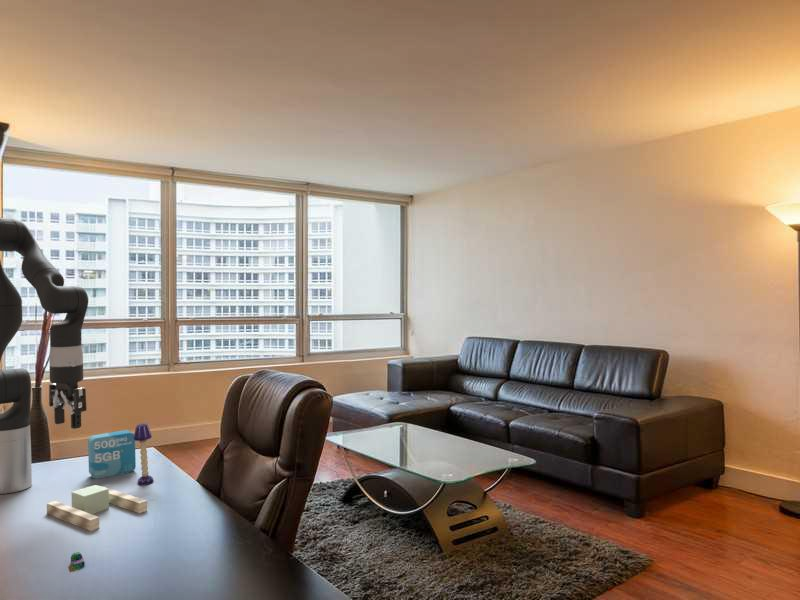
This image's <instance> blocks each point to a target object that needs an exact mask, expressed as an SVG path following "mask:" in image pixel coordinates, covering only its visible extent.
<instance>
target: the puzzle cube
mask: <svg viewBox="0 0 800 600" xmlns="http://www.w3.org/2000/svg"><path fill="white" fill-rule="evenodd" d="M85 563H86V562H85V560H84V557H83V554H82V553H81V552H79V551H76V552H73V553H72V554H71V556H70V564H69V565H68V567H67V568H68V571H69V573H71V572H74V571H80V568H85V566H86V565H85Z"/></svg>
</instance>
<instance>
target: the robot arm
mask: <svg viewBox="0 0 800 600" xmlns="http://www.w3.org/2000/svg"><path fill="white" fill-rule="evenodd" d="M0 252H11V253H13V252H16V253H17V254H18V255H19V254H20V255H21V256H22V257H23V258H22V261H21V262H22V263H21V271H22V274H23V277H24V278H25V280H26V281H27V282H28V283H29V284H30V285H31V286H32V287H33V288H34V290H35V291H36V294H37V296H38V300H39V302H40V306H41V307H42V309H43V310H44V311H46V312H48V313H50V314H55V315H57V314H58V315H59V314H66V315H65V318H64V320H61V321H59V322H57V323H54V324H52V325H51V326H50V329H49V343H50V344H49V345H50V348H49V358H48V359H49V360H48V361H49V382H50V384H49V385H48V386H49V389H48V390H49V391H48V392H49V393H48V400H49V401H48V405H49V407H52V410H54V412H53V413H54V415H53V416H54V424H56V425H61V424H64V423H65V421H66V419H65V406H66V407H67V408H68V409H69V412H70V428H71V429H74V430H76V429H79V428H81V427H82V413H83V412H87V396H86V395H87V394H86V393H87V392H86V387H79V382H81V381H83V380H84V352H83V346H82V330H83V329H82V328H83V325H84V321H85V317H86V313H87V311H88V307H89V297H88V294H87V291H86V290H85V289H84V288H83V287H81V286H80V285H78V286H77V285H65V279H64V276H63V275H62V273H61V272H60V271H59V269H57V268H56V267H55V266H54V265H53V264H52V263H51V262H50V261H49V260H48V259H47V257H46V256H45V254H44V253H43V251H42V249H41V248H40V246H39V244H38V243H37V241H36V239H35V237H34V236H33V234H32V232H31V231H30V228H29V227H28V226H27V225H26V224H25V223H24V222H23V221H22V220H20V219H16V218H8V217H0ZM22 323H23V300H22V297H21V294H20V293H19V290H18V289H17V288H16V286H15V285H14V284H13V283H12V281H11V280H10V278H9V277H8V276H7V274H6V273H5V271H4V269H3V266H2V261H1V260H0V362H1V361H2V358H3V357H2V356H3V354H4V352H5V350H6V348H7V347H8V345H9V344H10V343H11V342H12V340H13V339H14V337H15V335H16V334H17V333H18V331H19V329H20V327H21V326H22ZM31 400H32V378H31V375H30V373H29V371H28V369H26V368H12V369H2V370H0V405H4V404H11V403H13V404H12V406H11V407H10V408H8V409H7V410H6V411H4V412H2V413H1V414H0V495H2V494H3V495H4V494H12V493H16V492H20V491H24V490H26V489H29V488H30V487H31V486H32V485H33V483H32V482H33V480H32V476H33V475H32V474H33V473H32V468H33V467H32V440H31V439H32V437H31V414H32V413H31V403H32V402H31Z"/></svg>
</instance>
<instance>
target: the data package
mask: <svg viewBox="0 0 800 600" xmlns="http://www.w3.org/2000/svg"><path fill="white" fill-rule="evenodd" d="M134 434H135V433H132V432H131V430H125V429H124V430H119V431H118V430H117V431H113V432H106V433H99V434H93V435H91V436H90V437H89V438H88V440H87V449H88V451H87V453H88V456H87V457H88V474H90V476H91V477H92V478H93V479H96V480H97V479H98V478H99V479H103V477H104V478H108V476H109V477H113V475H114V476H117V474H119V475H123V474H122V473H124V474H128V473H127V472H129V473H132V472H133V471H135V470H136V467H137V466H136V460H137V459H136V441H135V440H134ZM131 471H132V472H131ZM99 479H98V480H99Z"/></svg>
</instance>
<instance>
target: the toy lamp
mask: <svg viewBox="0 0 800 600" xmlns="http://www.w3.org/2000/svg"><path fill="white" fill-rule="evenodd" d="M133 434H134V440H135V442H136V441H137V442H139V444H140V445H139V449H140V454H139V455H140V465H141V469H140V470H141V476H140V477H139V478H138V479H137V485H138V484H139V485H140V486H145V485H151V484H153V483H154V477H153V476H151V475H150V474H149V466H148V464H149V463H148V450H147V448H148V446H147V441H148V440H150V439H151V438H152V437H153V436H152V433H151V430H150V427H149V425H148V424H147V423H140V424H137V425H136V426H135V430H134V433H133Z"/></svg>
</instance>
